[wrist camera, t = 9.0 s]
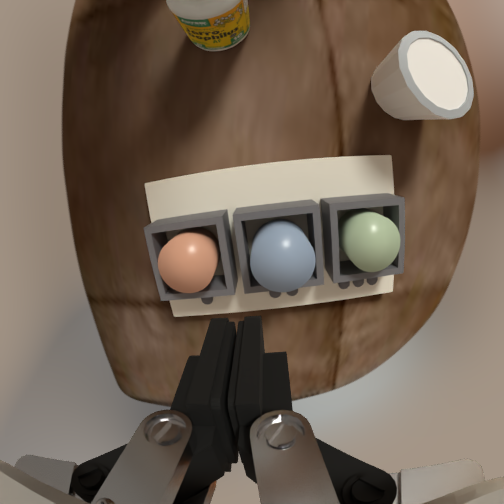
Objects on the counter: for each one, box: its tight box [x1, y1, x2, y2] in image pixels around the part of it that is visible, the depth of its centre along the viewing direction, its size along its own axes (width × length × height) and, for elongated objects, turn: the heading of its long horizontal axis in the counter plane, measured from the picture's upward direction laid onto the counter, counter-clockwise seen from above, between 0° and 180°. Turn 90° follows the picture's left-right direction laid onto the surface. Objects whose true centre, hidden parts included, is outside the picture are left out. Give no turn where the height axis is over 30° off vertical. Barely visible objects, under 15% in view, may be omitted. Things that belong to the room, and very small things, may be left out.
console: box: [144, 155, 405, 317], centre depth 22 cm, size 12×20×4 cm, turn 97°
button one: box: [158, 227, 221, 293], centre depth 21 cm, size 4×4×4 cm
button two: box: [250, 219, 316, 292], centre depth 19 cm, size 4×4×4 cm
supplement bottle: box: [166, 0, 250, 51], centre depth 14 cm, size 5×5×10 cm
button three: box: [338, 208, 400, 272], centre depth 20 cm, size 4×4×4 cm
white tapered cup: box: [371, 31, 474, 120], centre depth 16 cm, size 7×7×7 cm
